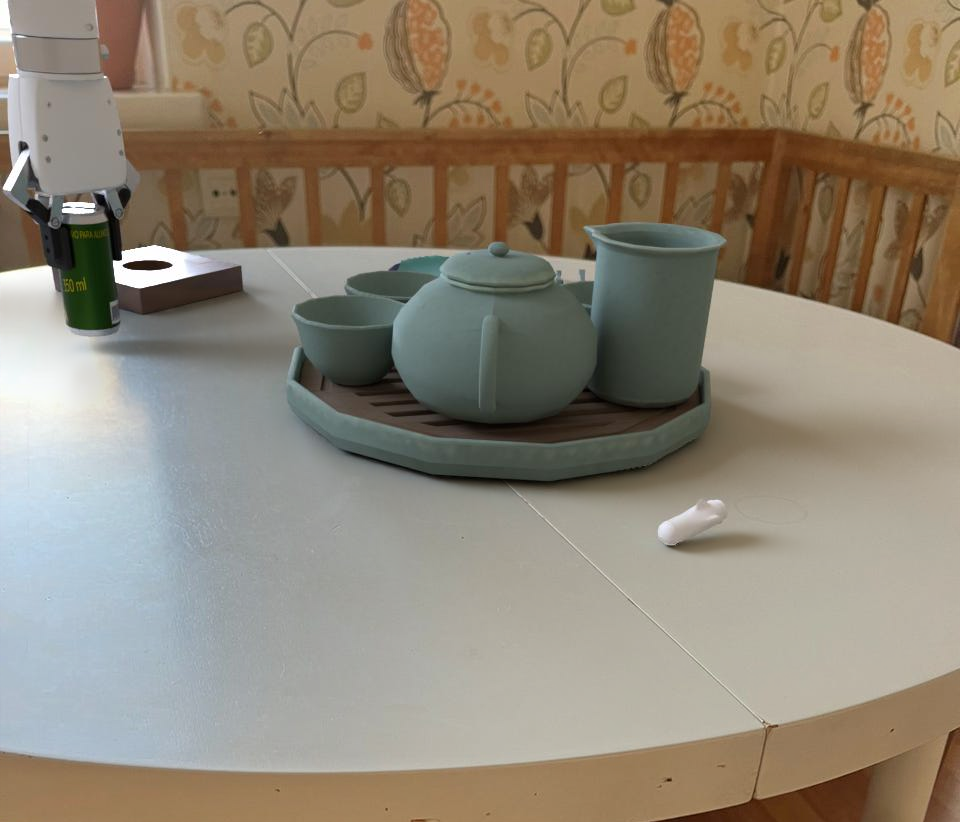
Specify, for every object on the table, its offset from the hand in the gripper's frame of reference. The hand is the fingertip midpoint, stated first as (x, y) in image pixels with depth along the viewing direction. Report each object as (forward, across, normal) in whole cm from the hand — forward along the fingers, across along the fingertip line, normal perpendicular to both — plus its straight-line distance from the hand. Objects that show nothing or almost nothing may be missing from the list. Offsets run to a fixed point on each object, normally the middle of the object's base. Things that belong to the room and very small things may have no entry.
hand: (85, 261), depth 105 cm
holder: (+9, -19, -14) cm, 26 cm away
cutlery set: (+8, -50, +18) cm, 54 cm away
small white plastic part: (+7, +2, +69) cm, 69 cm away
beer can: (+7, 0, 0) cm, 7 cm away
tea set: (+8, -13, +42) cm, 45 cm away
